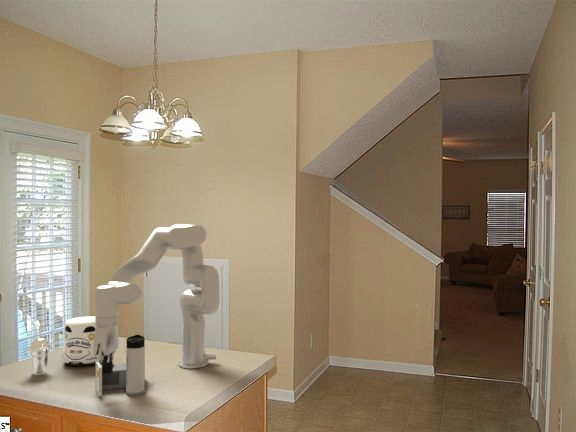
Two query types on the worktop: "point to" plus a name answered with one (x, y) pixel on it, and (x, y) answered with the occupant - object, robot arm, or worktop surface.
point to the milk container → (79, 341)
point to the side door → (98, 379)
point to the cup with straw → (39, 353)
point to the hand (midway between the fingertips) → (107, 372)
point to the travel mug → (135, 365)
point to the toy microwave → (115, 377)
